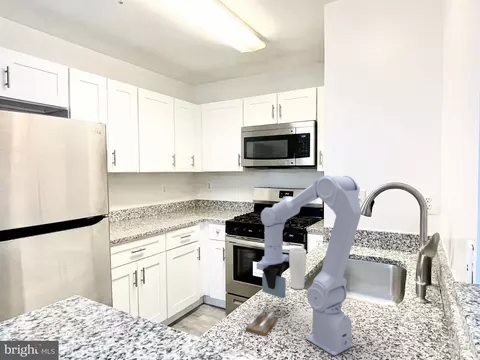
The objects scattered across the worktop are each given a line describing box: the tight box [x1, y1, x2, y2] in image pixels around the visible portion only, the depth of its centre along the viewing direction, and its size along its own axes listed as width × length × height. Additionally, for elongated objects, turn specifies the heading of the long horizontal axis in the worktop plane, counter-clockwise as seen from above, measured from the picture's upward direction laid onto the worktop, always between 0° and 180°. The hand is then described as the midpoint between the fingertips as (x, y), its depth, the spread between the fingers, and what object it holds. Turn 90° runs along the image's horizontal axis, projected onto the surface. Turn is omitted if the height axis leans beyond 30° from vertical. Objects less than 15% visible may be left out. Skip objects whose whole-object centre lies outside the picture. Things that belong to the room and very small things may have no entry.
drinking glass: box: [288, 247, 307, 290], centre depth 116 cm, size 7×7×15 cm
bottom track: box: [245, 308, 278, 337], centre depth 85 cm, size 10×6×3 cm, turn 154°
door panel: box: [261, 272, 287, 299], centre depth 93 cm, size 8×2×6 cm, turn 47°
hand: (273, 287), depth 93 cm, fingers closed on door panel, 2 cm apart
